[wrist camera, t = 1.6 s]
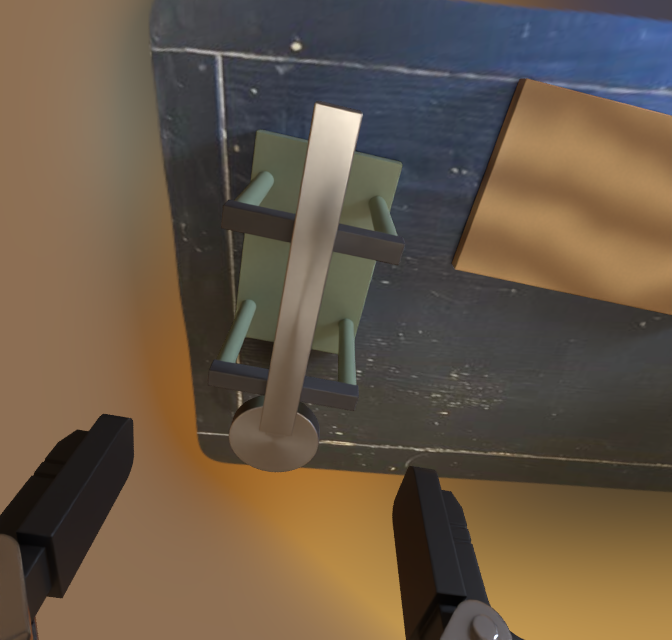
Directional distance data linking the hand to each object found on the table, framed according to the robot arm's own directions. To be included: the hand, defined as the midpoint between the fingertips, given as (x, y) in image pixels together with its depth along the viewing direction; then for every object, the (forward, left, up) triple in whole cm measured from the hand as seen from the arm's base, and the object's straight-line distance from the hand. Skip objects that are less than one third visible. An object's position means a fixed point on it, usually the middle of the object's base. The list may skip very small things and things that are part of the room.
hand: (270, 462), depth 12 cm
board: (-6, +22, -23) cm, 32 cm away
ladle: (+3, 0, -13) cm, 14 cm away
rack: (+2, 0, -23) cm, 23 cm away
